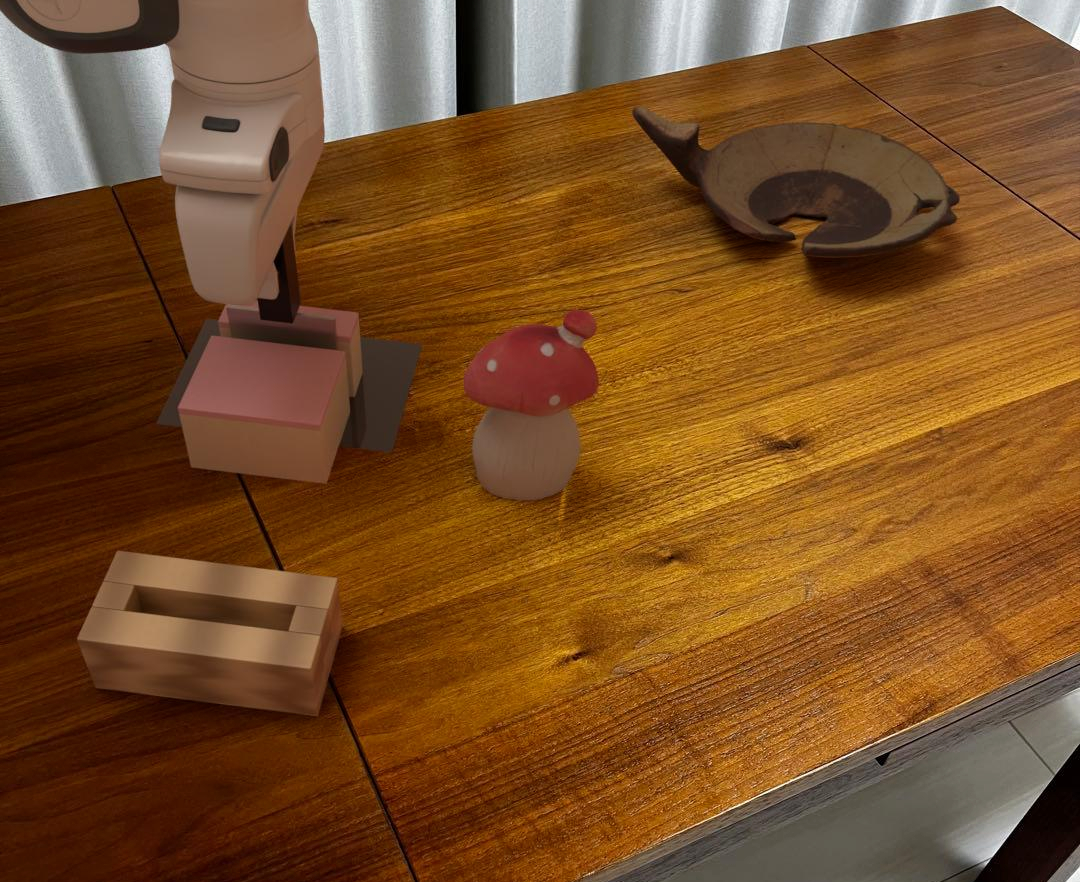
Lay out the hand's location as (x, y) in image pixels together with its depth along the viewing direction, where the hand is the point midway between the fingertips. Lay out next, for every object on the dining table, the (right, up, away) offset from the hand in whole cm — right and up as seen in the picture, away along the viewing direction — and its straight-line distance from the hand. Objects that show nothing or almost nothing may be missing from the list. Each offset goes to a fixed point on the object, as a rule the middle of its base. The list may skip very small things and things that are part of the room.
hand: (275, 276), depth 84 cm
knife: (0, -7, +8) cm, 10 cm away
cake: (-1, -11, +5) cm, 12 cm away
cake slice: (0, -6, +10) cm, 11 cm away
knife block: (-2, -27, -8) cm, 28 cm away
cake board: (-1, -9, +8) cm, 12 cm away
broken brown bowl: (+43, +13, +31) cm, 54 cm away
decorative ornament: (+18, -14, +5) cm, 23 cm away
